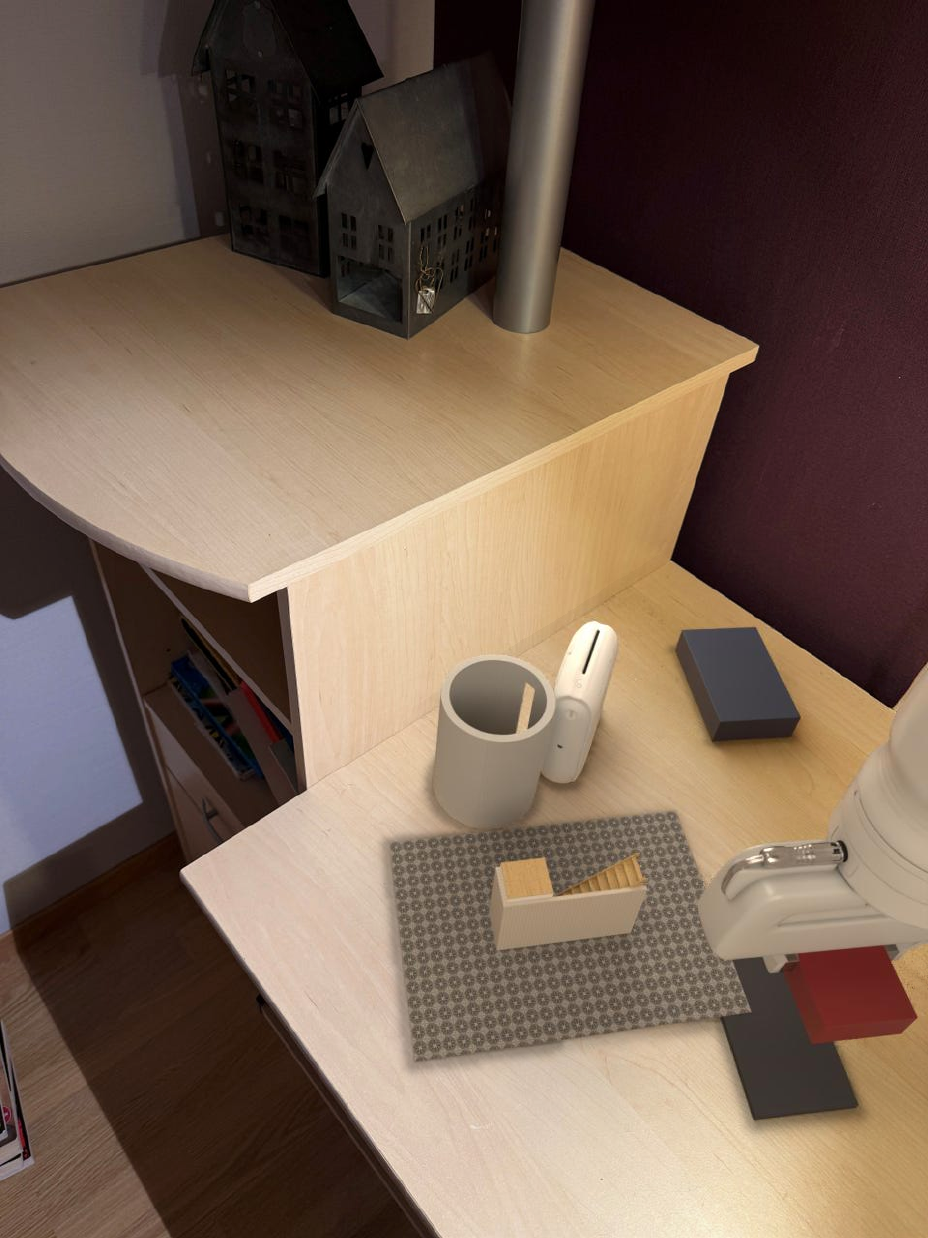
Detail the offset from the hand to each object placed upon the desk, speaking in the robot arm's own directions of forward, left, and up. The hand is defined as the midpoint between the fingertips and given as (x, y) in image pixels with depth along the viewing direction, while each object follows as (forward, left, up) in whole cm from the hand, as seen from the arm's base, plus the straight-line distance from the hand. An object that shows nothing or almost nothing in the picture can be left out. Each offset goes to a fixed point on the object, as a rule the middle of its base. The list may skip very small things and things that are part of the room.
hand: (828, 956), depth 59 cm
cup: (+18, -23, -12) cm, 32 cm away
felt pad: (0, 0, -12) cm, 12 cm away
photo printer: (+10, -27, -12) cm, 31 cm away
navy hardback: (-8, -32, -12) cm, 35 cm away
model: (+14, -9, -11) cm, 20 cm away
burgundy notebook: (0, 0, -1) cm, 1 cm away
